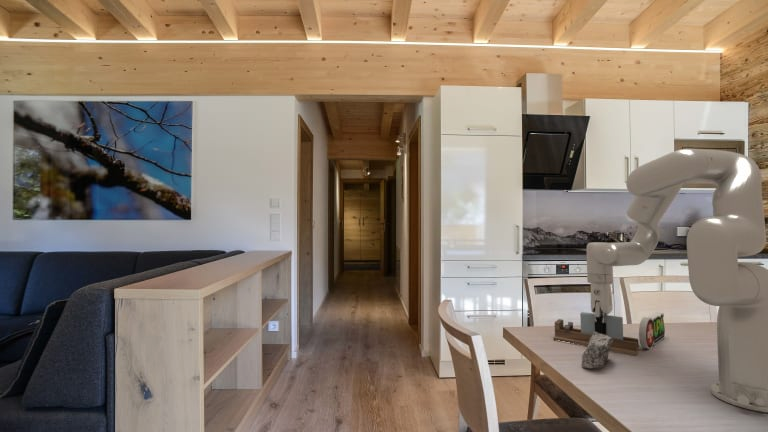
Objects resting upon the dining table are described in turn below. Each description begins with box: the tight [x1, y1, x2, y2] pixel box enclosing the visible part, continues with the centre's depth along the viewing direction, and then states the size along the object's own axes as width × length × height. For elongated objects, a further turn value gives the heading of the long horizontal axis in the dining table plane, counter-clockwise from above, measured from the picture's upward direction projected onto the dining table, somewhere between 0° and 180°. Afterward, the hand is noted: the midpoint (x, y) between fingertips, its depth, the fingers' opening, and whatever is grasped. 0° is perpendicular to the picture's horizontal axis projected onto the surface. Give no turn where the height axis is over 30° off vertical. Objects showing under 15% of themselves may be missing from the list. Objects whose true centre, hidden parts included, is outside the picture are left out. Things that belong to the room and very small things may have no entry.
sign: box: [638, 311, 666, 350], centre depth 122 cm, size 22×2×10 cm, turn 129°
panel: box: [579, 311, 624, 340], centre depth 121 cm, size 2×12×8 cm, turn 49°
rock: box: [581, 332, 613, 369], centre depth 104 cm, size 16×8×10 cm, turn 128°
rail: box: [553, 318, 640, 357], centre depth 122 cm, size 9×24×6 cm, turn 49°
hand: (601, 332), depth 121 cm, fingers closed on panel, 2 cm apart
